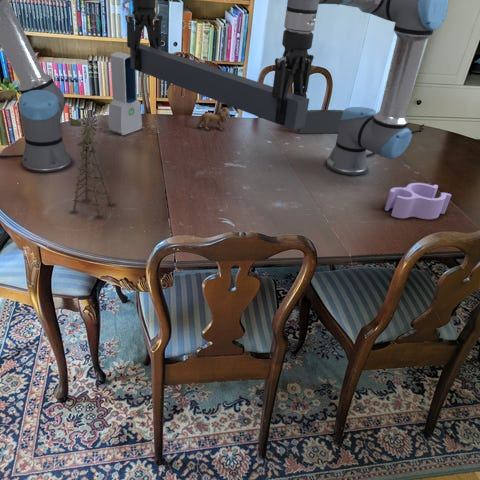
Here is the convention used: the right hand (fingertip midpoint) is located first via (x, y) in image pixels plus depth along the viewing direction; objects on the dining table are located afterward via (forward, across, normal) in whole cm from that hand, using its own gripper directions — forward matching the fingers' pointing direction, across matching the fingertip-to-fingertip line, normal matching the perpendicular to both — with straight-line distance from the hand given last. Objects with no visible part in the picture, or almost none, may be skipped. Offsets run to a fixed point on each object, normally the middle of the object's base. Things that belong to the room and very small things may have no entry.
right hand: (285, 121), depth 129 cm
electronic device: (+30, +4, +83) cm, 88 cm away
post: (+1, 0, +31) cm, 31 cm away
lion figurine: (+30, +37, +65) cm, 81 cm away
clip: (+30, +40, -28) cm, 57 cm away
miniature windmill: (+29, -41, +35) cm, 62 cm away
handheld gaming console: (+30, +75, +35) cm, 88 cm away
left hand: (0, 0, +63) cm, 63 cm away
